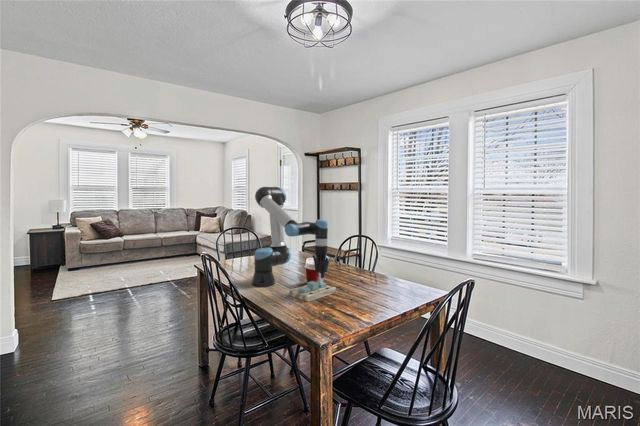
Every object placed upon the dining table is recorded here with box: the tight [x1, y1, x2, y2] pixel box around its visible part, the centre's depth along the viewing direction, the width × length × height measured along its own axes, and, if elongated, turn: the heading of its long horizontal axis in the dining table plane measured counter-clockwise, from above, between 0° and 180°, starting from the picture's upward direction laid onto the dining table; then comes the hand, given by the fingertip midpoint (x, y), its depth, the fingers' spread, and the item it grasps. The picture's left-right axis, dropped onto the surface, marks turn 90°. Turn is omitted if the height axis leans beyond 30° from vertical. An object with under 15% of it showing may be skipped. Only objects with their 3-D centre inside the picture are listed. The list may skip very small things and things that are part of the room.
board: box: [288, 284, 337, 303], centre depth 192 cm, size 16×24×3 cm, turn 137°
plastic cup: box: [304, 264, 319, 283], centre depth 213 cm, size 11×11×12 cm
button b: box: [306, 281, 319, 291], centre depth 192 cm, size 5×5×4 cm
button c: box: [319, 282, 327, 288], centre depth 197 cm, size 5×5×4 cm
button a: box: [298, 286, 310, 294], centre depth 187 cm, size 5×5×4 cm
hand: (320, 282), depth 197 cm, fingers closed
